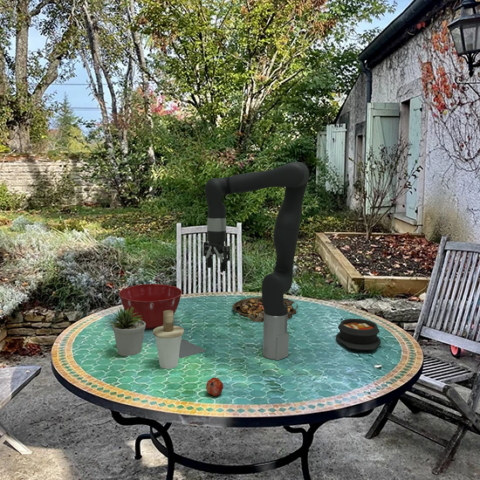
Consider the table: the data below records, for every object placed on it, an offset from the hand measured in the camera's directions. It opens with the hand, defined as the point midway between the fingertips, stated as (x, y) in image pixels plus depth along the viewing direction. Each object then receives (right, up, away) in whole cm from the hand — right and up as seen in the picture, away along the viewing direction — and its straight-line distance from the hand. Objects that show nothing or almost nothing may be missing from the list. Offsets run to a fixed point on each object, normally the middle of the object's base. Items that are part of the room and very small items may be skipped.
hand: (216, 269), depth 192 cm
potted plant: (-34, -33, -4) cm, 48 cm away
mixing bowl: (-32, -27, +31) cm, 52 cm away
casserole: (+59, -32, +12) cm, 68 cm away
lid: (-16, -22, -18) cm, 33 cm away
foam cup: (-17, -35, -16) cm, 42 cm away
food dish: (+23, -25, +52) cm, 62 cm away
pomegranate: (+1, -39, -36) cm, 52 cm away
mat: (-14, -32, 0) cm, 35 cm away
